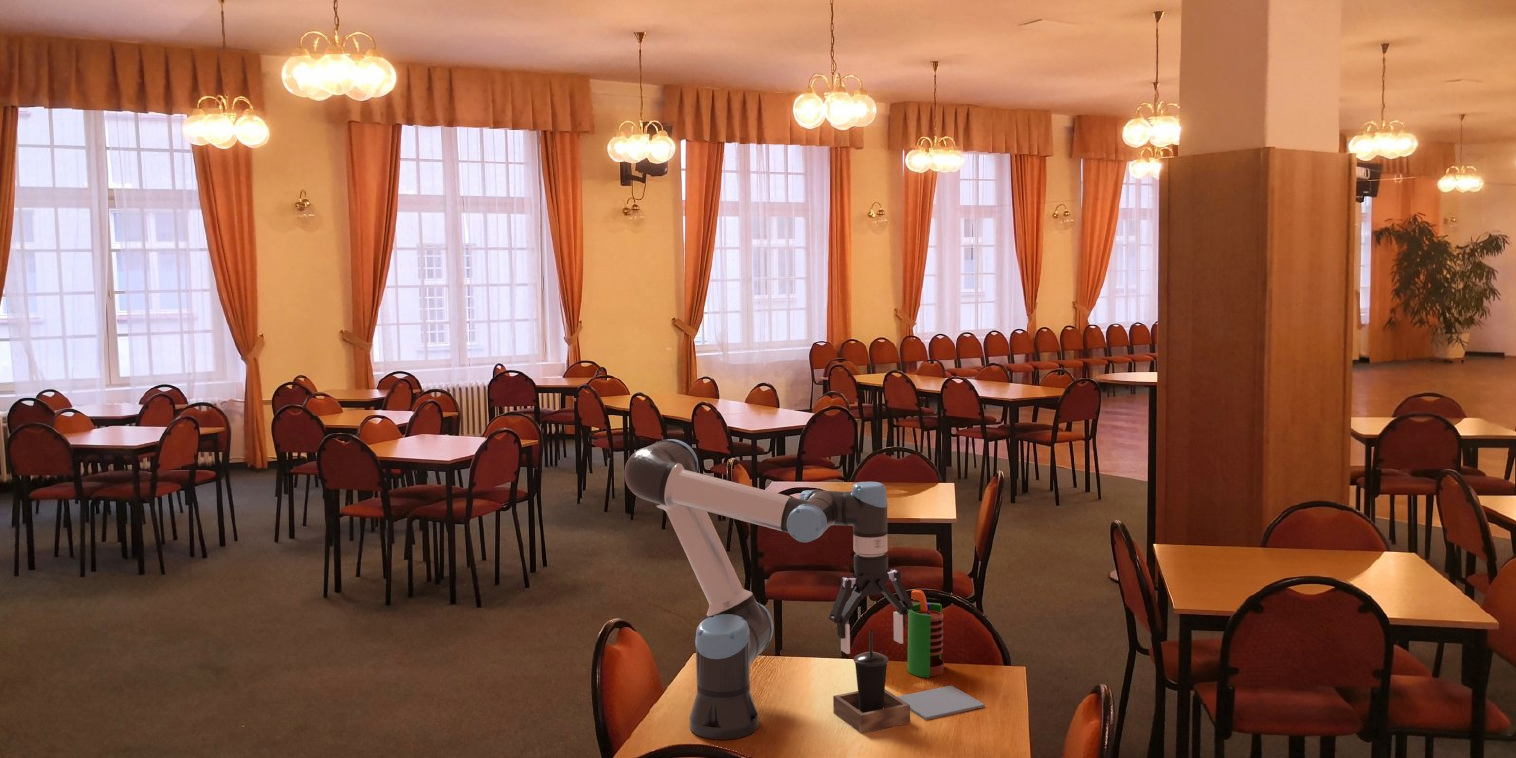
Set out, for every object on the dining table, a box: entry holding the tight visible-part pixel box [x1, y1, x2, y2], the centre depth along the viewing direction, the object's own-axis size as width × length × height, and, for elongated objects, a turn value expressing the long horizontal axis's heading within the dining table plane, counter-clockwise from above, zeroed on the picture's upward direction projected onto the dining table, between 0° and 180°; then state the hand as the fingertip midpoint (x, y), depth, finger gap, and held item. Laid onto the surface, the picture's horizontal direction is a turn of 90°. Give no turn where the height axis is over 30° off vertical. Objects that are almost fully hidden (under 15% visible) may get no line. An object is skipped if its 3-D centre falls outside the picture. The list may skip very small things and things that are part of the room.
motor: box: [907, 589, 945, 679], centre depth 277 cm, size 10×9×20 cm
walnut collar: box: [832, 689, 911, 734], centre depth 249 cm, size 12×12×4 cm
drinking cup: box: [853, 629, 889, 713], centre depth 248 cm, size 8×8×20 cm
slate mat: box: [897, 685, 986, 721], centre depth 257 cm, size 16×13×1 cm
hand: (872, 646), depth 247 cm, fingers open, 13 cm apart
